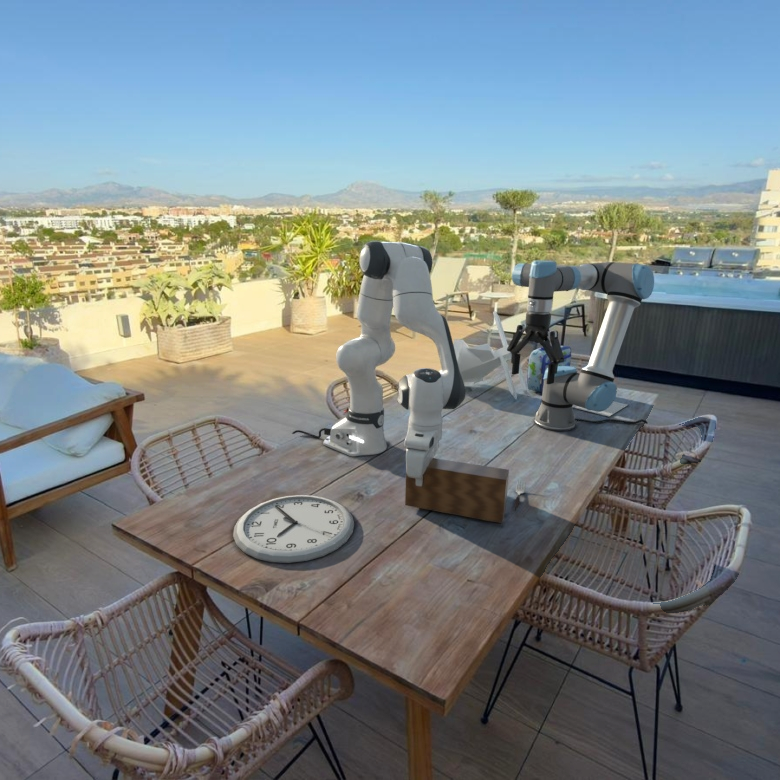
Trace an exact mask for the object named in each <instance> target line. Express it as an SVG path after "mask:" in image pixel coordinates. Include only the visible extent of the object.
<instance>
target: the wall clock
mask: <svg viewBox="0 0 780 780" xmlns="http://www.w3.org/2000/svg"><path fill="white" fill-rule="evenodd" d="M354 528H355V521H354V517H353V514H352V513H351V512H350V510H348V509H347V507H345V506H343V505H342V504H340V503H339V502H337V501H335V500H333V499H332V500H331V499H328V498H327V497H322V496H317V495H305V494H297V495H286V496H281V497H277V498H272V499H269V500H266V501H264V502H261V503H259V504H256V505H255V506H253V507H252V508H250V509H249V510H247V511H246V512H245V513H243V514H242V516H241V517H239V518H238V520H237V522H236V524H235V525H234V527H233V533H232V536H233V537H232V538H233V540H234V542H235V545H236V547H237V548H239V549H240V550H241V551H242V552H243V553H244V554H246V555H248V556H250V557H252V558H254V559H255V560H261V561H265V562H270V563H283V564H284V563H285V564H292V563H301V562H308V561H311V560H315V559H318V558H321V557H325V556H326V555H328V554H331V553H333V552H335V551H337V550H338V549H339V548H341V547H342V546H343V545H345V544H346V543H347V542H348V541H349V540H350V538H351V537H352V535H353V534H354Z"/></svg>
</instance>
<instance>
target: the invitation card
mask: <svg viewBox="0 0 780 780" xmlns="http://www.w3.org/2000/svg"><path fill="white" fill-rule="evenodd" d="M628 406H629V404H627V403H623V402H618V401H615V400H614V401H613V403H612V404H611V405H610V406H609V407H608V408H607V409H606V410H604V411H601V412H596V411H592V410H587V409H585V408H582V407H579V406H576V405H575V406H574V407H573V409H575V410H581V411H584V412H587V413H593V414H596V415H600V416H604V417H608V418H609V417H611V416H613V415H614V414H616V413H617V412H619V411H621V410H623V409H624V408H626V407H628Z"/></svg>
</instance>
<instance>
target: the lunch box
mask: <svg viewBox="0 0 780 780" xmlns="http://www.w3.org/2000/svg"><path fill="white" fill-rule="evenodd" d="M551 346H552V345H551ZM560 346H561V349H562V353H563V356H564V360H565V361H564V362H562V363H559V364H558V366H571V361H572V348H571V347H570V346H567V345H566V346H565V345H560ZM549 363H551V361H550V359H549V358H548V356H547V354H546V352H545V350H544V348H543V346H541V347H539V348H536V349H534V350H532V351H531V353H530V355H529V357H528V363H527V375H526V384H527V387H528V390H529V391H532V392H533V391H534V392H539V393H540V394H542V392H543V381H544V379H543V378H544V375H545V371H546V369H547V368H548V365H549Z"/></svg>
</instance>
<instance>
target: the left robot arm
mask: <svg viewBox="0 0 780 780" xmlns="http://www.w3.org/2000/svg"><path fill="white" fill-rule="evenodd" d="M358 263H359V264H358V265H359V269H360V271H361V273H362V274H363V277H362V281H361V284H360V288H359V295H358V300H357V307H356V312H355V317H356V319H357V321H358V322H359V324H360V336H358V337H356V338H353V339H350V340H348V341H345V343H343V344H342V345H341V346H339V347H338V348H337V351H336V352H335V362H336V365H337V367H338V369H340V371H342V373H344V375H345V376H346V379H347V382H348V387H349V406H348V407H347V408H346V409H343V414H346V415H345V417H343V418H341V419H340V420H339V421H337V422H336V423H334V422H330V423H329V424H328V425H326V426H325V427H322V428H320V429H319V431H318V435H316V434H313V433H311V432H306V431H304V430H301V429H296V430H294V431H292V432H291V434H292V435H295V434H296V433H299V434H304V435H306V436H307V435H308V436H309V437H312V438H314V439H320V438H321V437H322V432H323V435H326V436H327V437H326V438H324V440H323V441H322V442H323V444H322V445H323V446H325V447H327V448H330V449H332V450H335V451H338V452H339V453H342V454H344V455H347V456H348V457H359V456H372V455H377V454H381V453H384V451H386V450H387V448H388V445H387V444H388V443H387V441H386V437H385V430H384V424H385V408H384V387H383V384H382V383H381V382H380V381H378V377H377V374H376V368H377V367H379V366H383V365H385V364H386V363H387V362H388V361H389V360H391V358H392V357H394V355H395V352H396V344H395V341H394V339H393V338H392V334H391V333H392V332H391V319H392V313H394V317H395V319H396V321H398V323H399V325H401V326H403V328H405V329H408V330H409V331H412V332H415V333H418V334H420V335H423V336H425V337H426V338H428V339H430V340H431V341H433V343H434V345H435V346H436V351H437V353H438V359H439V362H440V368H441V369H442V373H440V372H439V371H438V370H437V369H433V368H429V367H422V368H418V369H415V370H414V371H413V372H412V373H409V374H405V375H404V376H402V377H401V378H400V380H399V381H398V382H397V403H398V404H399V405H400V406H402V407H403V408H404V410H407V411H409V416H408V422H407V423H408V426H407V433H406V435H405V438H404V441H403V442H404V443H403V447H404V448H406V451H405V473H406V472H407V475H408V477H410V478H415V479H416V486H422V485H423V480H424V478H423V474H424V472H425V471H426V469H427V467H428V465H429V464H430V462H431V460H432V459H433V458H435V456H436V454H437V453H438V451H439V447H440V441H441V440H442V437H443V421H444V420H443V416H442V412H443V410H456V409H457V408H458V407H459V406H460V405H461V404H462V403H463V402H464V401H465V399H466V386H465V383H464V382H463V379H462V376H461V373H460V370H459V367H458V362H457V358H456V354H455V350H454V345H453V344H454V340H453V338H452V334H451V333H452V332H451V330H450V327H449V323H448V321H447V318H446V317H445V316H444V315H443V314H440V312H439V311H438V309H437V307H436V304H435V302H434V296H433V286H432V279H431V273H432V269H433V256H432V252H431V251H430V250H429V249H427V248H426V247H424V246H421V245H413V244H411V243H405V242H400V241H397V242H395V241H394V242H393V241H380V240H373V241H372V240H371V241H367V242H366V243H364V245H363V246H362V248H361V249H360V252H359V258H358Z"/></svg>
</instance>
